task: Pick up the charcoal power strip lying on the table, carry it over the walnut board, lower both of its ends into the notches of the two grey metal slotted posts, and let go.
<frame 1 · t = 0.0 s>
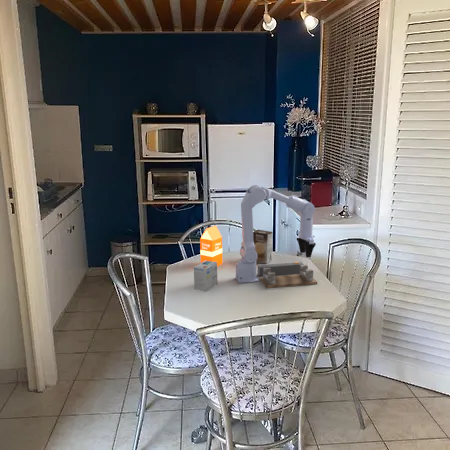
hand: (305, 254, 226), 10 cm above the table, tool pointing down, fingers open, 7 cm apart
orange juice: (211, 265, 245), on the table
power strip: (280, 274, 230), on the table
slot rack: (287, 281, 219), on the table
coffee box: (262, 261, 250), on the table
light bulb box: (206, 287, 214), on the table
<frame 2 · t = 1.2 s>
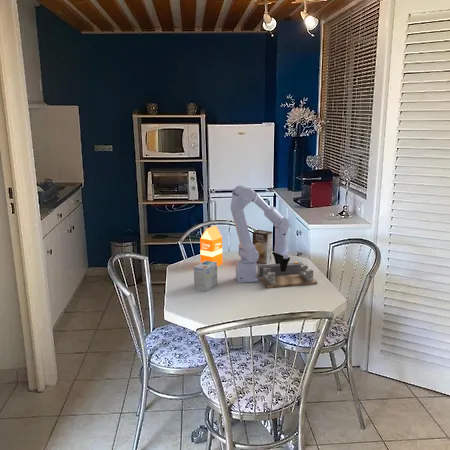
hand: (280, 268, 229), 3 cm above the table, tool pointing down, fingers open, 7 cm apart
nothing on the table moved.
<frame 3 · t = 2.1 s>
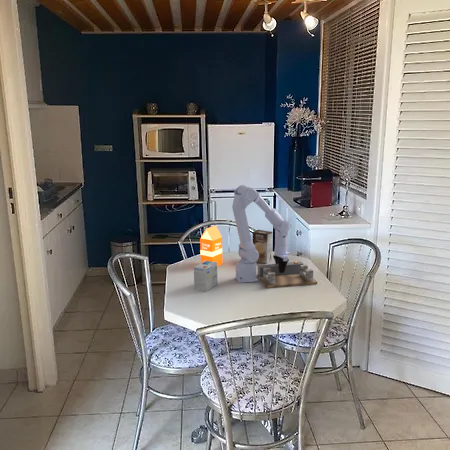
hand: (280, 271, 229), 1 cm above the table, tool pointing down, fingers closed on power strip, 4 cm apart
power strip: (280, 274, 230), on the table, touching gripper
everything else where it was.
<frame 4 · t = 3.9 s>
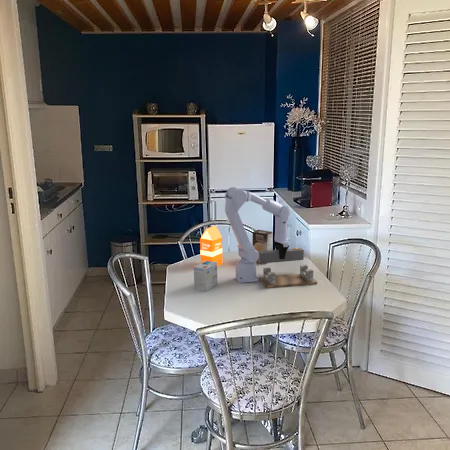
hand: (280, 257, 228), 8 cm above the table, tool pointing down, fingers closed on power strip, 4 cm apart
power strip: (280, 260, 228), point 7 cm above the table, touching gripper
everything else where it was.
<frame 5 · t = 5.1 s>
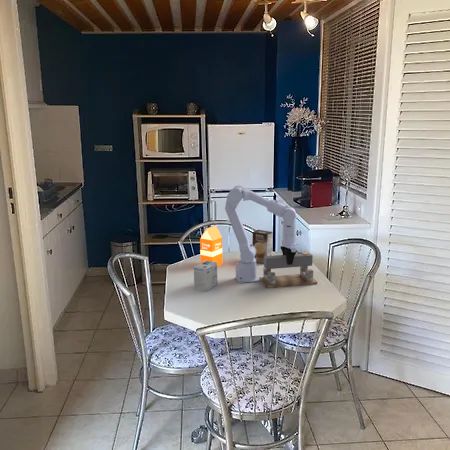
hand: (288, 263, 217), 9 cm above the table, tool pointing down, fingers closed on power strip, 4 cm apart
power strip: (288, 266, 217), point 7 cm above the table, touching gripper
everything else where it was.
when the fingers open (6 cm above the table, at t = 6.1 s): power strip stays where it is, resting on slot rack.
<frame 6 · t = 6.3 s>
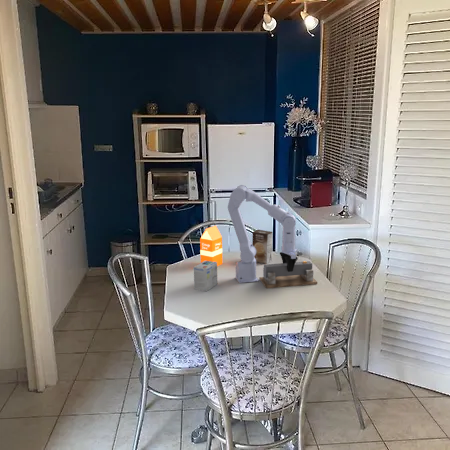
hand: (288, 269, 218), 6 cm above the table, tool pointing down, fingers open, 5 cm apart
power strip: (288, 274, 218), point 3 cm above the table, touching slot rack
everything else where it was.
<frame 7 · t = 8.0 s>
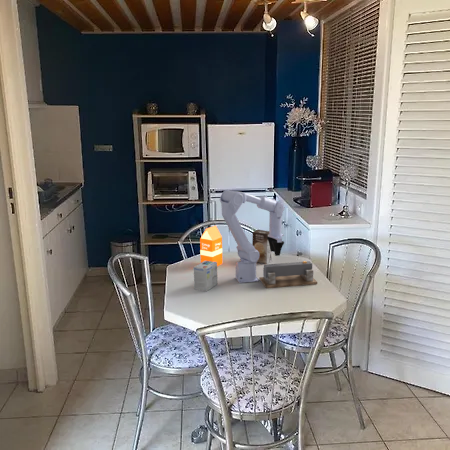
hand: (275, 253, 228), 10 cm above the table, tool pointing down, fingers open, 7 cm apart
nothing on the table moved.
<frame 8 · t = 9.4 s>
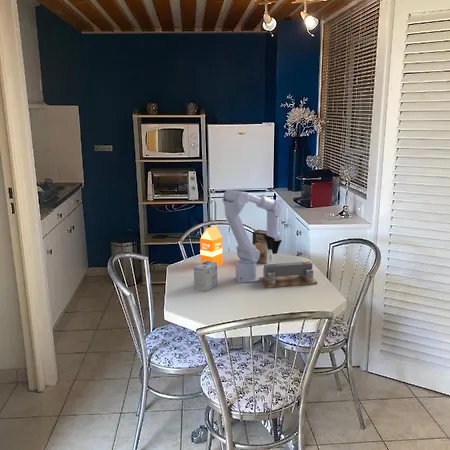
hand: (272, 251, 230), 10 cm above the table, tool pointing down, fingers open, 7 cm apart
nothing on the table moved.
at the end: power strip 0.1 cm off-centre on the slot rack, point 3.5 cm above the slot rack's base; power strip tilted 0°; the gripper is holding nothing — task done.
